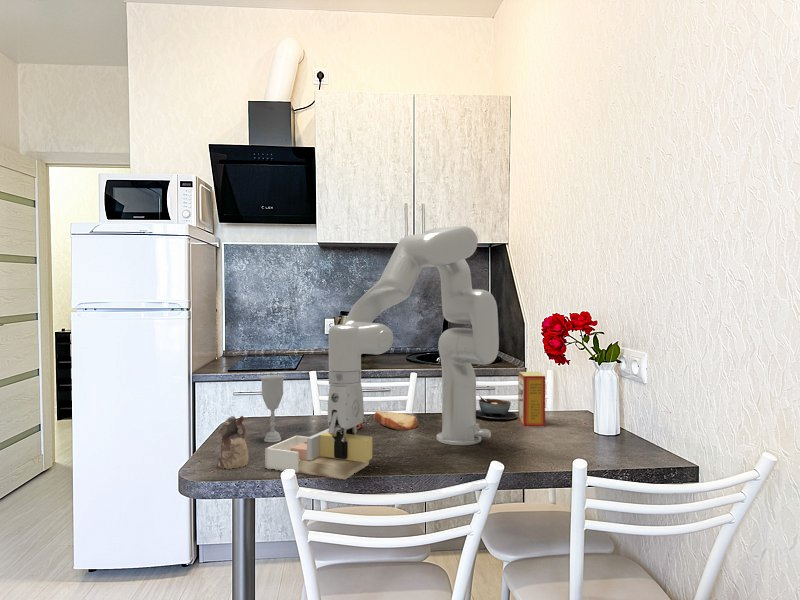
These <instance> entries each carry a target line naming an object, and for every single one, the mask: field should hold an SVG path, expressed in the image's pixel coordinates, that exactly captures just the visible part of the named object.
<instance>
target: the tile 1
mask: <svg viewBox="0 0 800 600" xmlns="http://www.w3.org/2000/svg"><path fill="white" fill-rule="evenodd" d="M290 451H295V452H299V460H305V461H308V460H307V444H303V443H300V444H298V445H296V446H294V447H291V448H290Z"/></svg>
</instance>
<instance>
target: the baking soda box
mask: <svg viewBox="0 0 800 600" xmlns="http://www.w3.org/2000/svg"><path fill="white" fill-rule="evenodd" d="M517 377H518V398H517V399H518V401H517V402H518V407H517V408H518V409H517V410H518V413H517V416H518V417H517V419H518V421H519V423H520V424H521V423H522V424H523V425H522V424H521V425H522V426H523V427H524V426H545V427H546V375H544V374H543V373H541V372H539V371H518V376H517Z"/></svg>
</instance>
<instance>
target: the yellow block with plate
mask: <svg viewBox="0 0 800 600" xmlns="http://www.w3.org/2000/svg"><path fill="white" fill-rule="evenodd" d="M340 433H341V434H342V432H340ZM307 437H308V438H307V460H313V459H315V458H317V457H319V456H323V457H330V458H335V457H334V441H333V437H332V435H331V434H329V428H326V429H324V430H322V431H320V432H317V433H315V434H313V435H311V436H307ZM346 441H347V459H344V460H351V461H358V462H365V463H366V462H367V461H369V462H370V460H372V459H373V436H370V435H369V436H367V435H360V434H359V435H358V434H357V435H352V434H346ZM337 459H340V458H337Z"/></svg>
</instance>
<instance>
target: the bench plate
mask: <svg viewBox="0 0 800 600" xmlns="http://www.w3.org/2000/svg"><path fill="white" fill-rule="evenodd" d="M369 465H370V460H369V461H367V462H366V463H365V462H358V461H351V460H344V459H337V458H330V457H323V456H319V457H317V458H315V459H313V460H308V461H305V460H299V473H298V474H304V475H312V476H321V477H324V478H325V477H326V478H327V477H328V478H334V479H339V480H347V479H348V478H350V477H352V476H353V475H355V474H356V473H358V472H359V471H362V470H363V469H364V468H366V467H367V466H369ZM354 473H355V474H354Z"/></svg>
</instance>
